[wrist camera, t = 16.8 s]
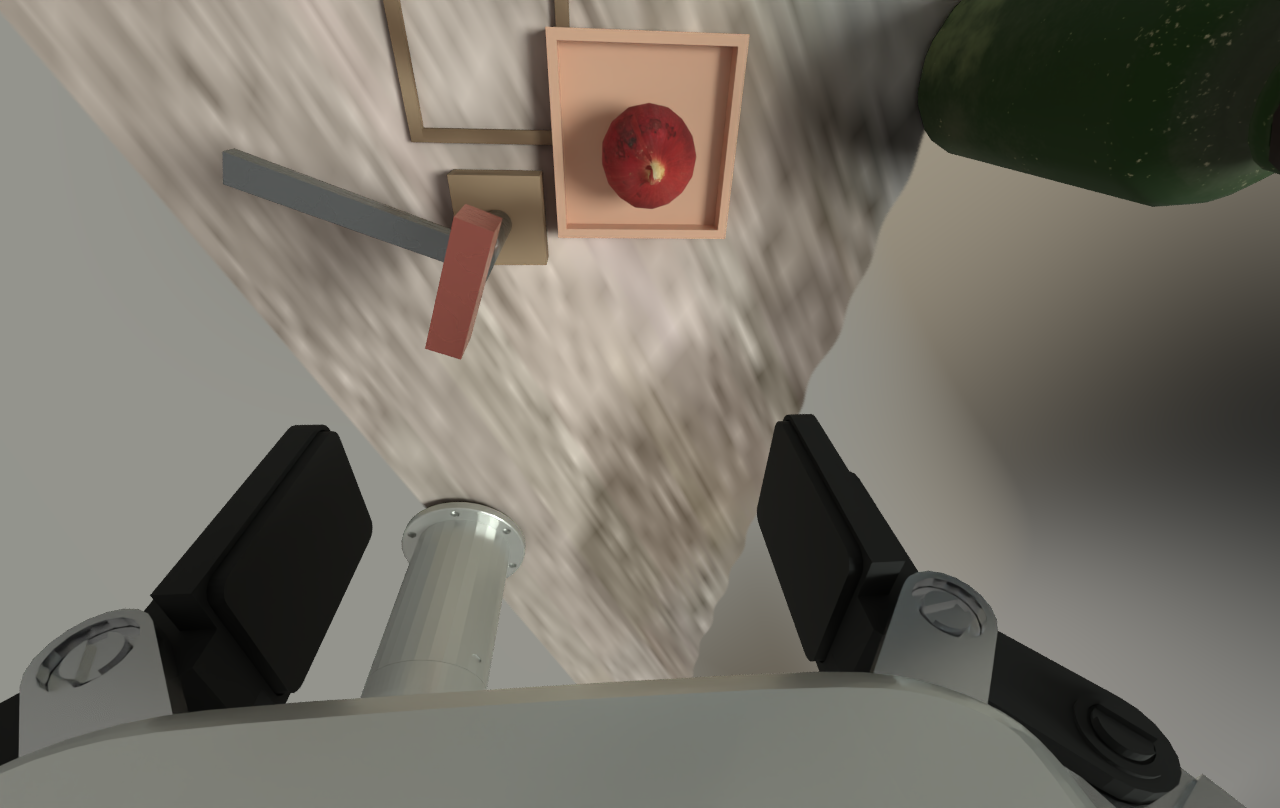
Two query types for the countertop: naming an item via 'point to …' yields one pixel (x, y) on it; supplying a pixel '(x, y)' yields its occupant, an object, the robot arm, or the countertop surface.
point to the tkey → (393, 237)
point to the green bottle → (1111, 93)
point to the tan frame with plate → (484, 187)
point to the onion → (648, 155)
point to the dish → (633, 75)
